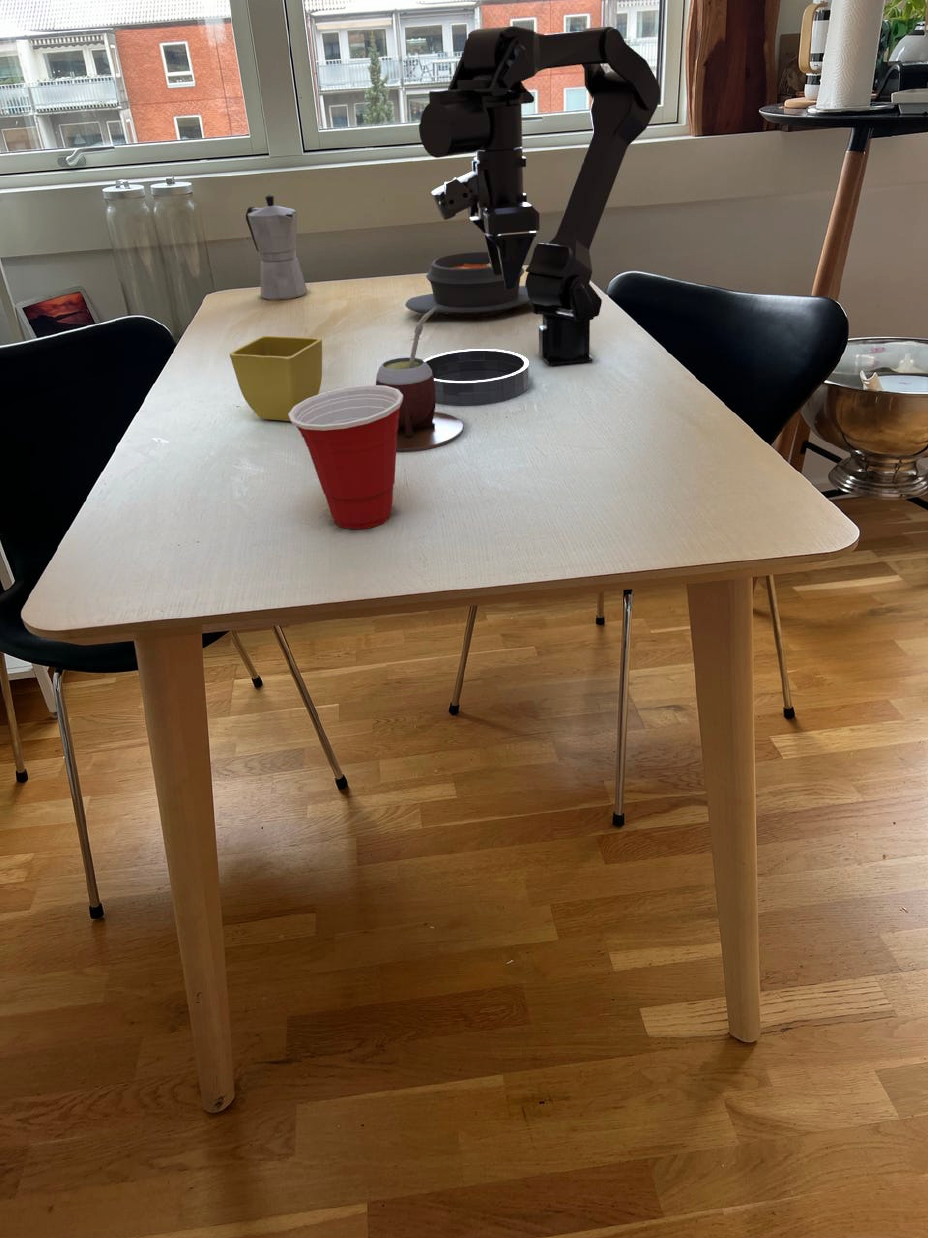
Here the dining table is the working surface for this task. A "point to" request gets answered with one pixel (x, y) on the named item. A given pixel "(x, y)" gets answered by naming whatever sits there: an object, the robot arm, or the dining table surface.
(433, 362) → the pan
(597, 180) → the robot arm
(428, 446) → the disc
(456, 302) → the casserole
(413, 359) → the mate gourd
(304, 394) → the flower pot
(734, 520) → the dining table surface
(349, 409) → the plastic cup
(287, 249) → the coffeepot
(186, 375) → the dining table surface
